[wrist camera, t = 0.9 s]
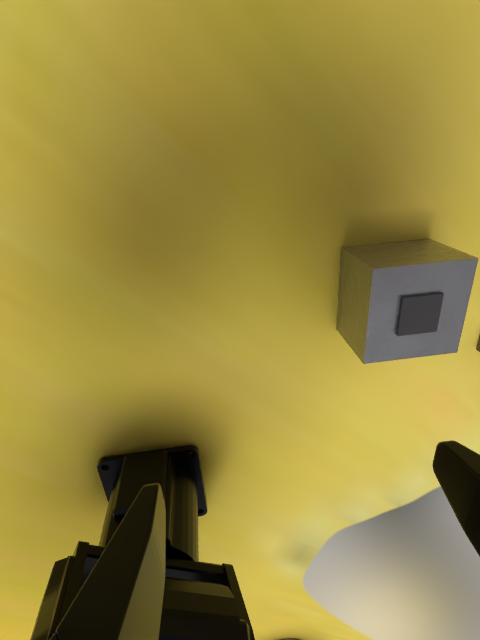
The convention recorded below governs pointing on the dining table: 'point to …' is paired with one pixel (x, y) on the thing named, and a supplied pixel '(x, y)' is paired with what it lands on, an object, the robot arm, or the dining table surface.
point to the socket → (403, 299)
